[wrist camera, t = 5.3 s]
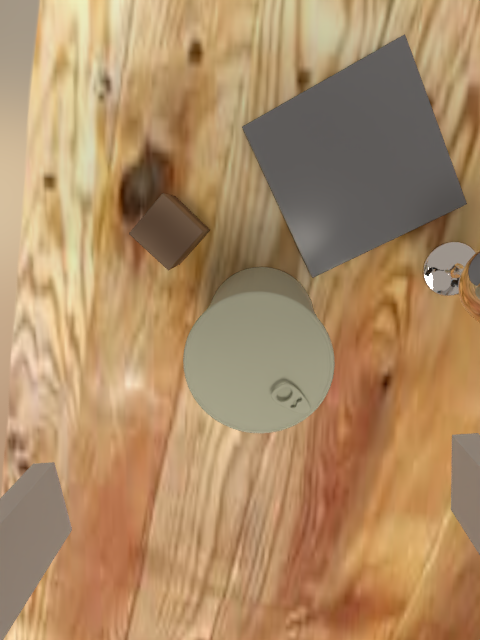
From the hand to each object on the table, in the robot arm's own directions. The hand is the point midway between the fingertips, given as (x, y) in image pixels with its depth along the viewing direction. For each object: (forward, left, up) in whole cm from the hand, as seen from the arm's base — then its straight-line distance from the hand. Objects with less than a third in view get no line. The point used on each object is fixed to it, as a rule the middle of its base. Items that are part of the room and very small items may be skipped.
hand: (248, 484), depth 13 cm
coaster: (-12, -8, -22) cm, 27 cm away
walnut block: (+3, -10, -23) cm, 25 cm away
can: (0, 0, -23) cm, 23 cm away
